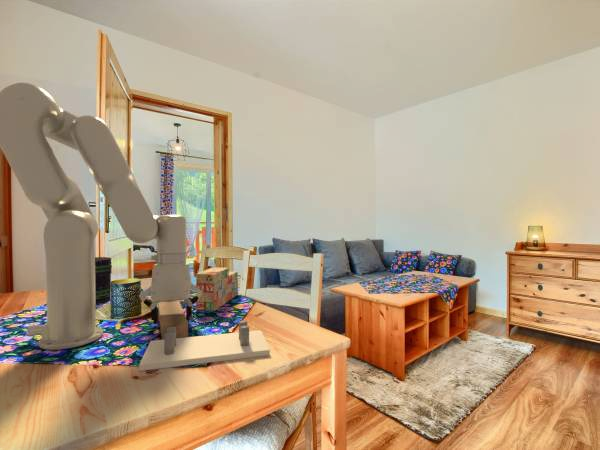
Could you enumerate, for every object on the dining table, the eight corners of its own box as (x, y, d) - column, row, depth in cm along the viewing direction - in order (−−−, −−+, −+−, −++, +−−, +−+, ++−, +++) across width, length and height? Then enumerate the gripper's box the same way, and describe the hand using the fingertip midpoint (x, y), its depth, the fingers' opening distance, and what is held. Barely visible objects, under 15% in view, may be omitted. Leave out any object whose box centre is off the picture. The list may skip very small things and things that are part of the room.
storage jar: (85, 297, 112) (84, 257, 112) (115, 296, 115) (115, 256, 115) (74, 305, 103) (73, 261, 102) (107, 303, 106) (107, 260, 105)
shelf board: (162, 342, 74) (162, 326, 74) (158, 315, 94) (158, 303, 94) (188, 338, 77) (187, 322, 77) (179, 313, 97) (179, 300, 96)
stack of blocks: (223, 294, 120) (223, 263, 119) (238, 295, 119) (238, 263, 118) (195, 310, 99) (195, 272, 98) (213, 311, 98) (214, 273, 97)
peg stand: (139, 370, 60) (138, 344, 59) (150, 345, 71) (150, 323, 71) (269, 355, 67) (269, 331, 67) (260, 334, 78) (261, 314, 78)
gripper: (133, 262, 79) (134, 328, 79) (204, 259, 84) (204, 322, 84) (140, 258, 86) (140, 319, 87) (204, 256, 91) (204, 314, 91)
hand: (172, 320), depth 85 cm, fingers open, 7 cm apart
